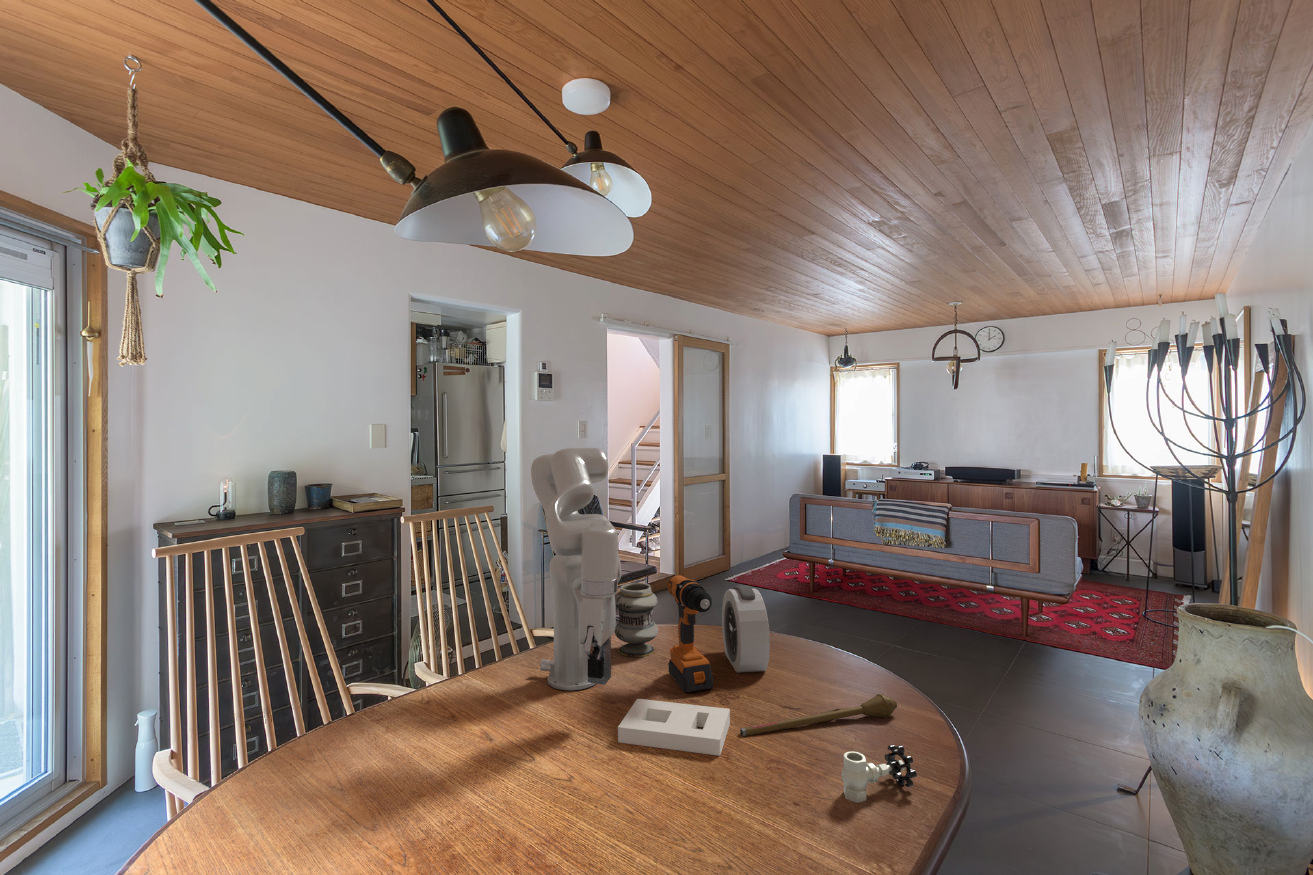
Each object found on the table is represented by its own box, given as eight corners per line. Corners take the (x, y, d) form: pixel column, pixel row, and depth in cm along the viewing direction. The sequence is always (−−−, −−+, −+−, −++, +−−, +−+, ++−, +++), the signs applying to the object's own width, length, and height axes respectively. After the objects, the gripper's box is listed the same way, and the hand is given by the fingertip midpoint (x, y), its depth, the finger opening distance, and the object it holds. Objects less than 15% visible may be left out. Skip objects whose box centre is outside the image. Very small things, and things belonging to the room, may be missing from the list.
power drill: (725, 702, 134) (725, 590, 134) (694, 707, 132) (693, 593, 132) (692, 667, 155) (692, 570, 155) (665, 670, 153) (664, 572, 153)
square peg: (587, 682, 124) (587, 644, 124) (594, 674, 128) (594, 637, 128) (604, 684, 124) (604, 646, 123) (611, 676, 127) (611, 639, 127)
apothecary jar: (610, 657, 162) (609, 590, 162) (620, 642, 174) (619, 580, 174) (654, 660, 160) (653, 592, 160) (661, 644, 172) (660, 581, 172)
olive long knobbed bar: (747, 749, 117) (738, 740, 122) (903, 719, 126) (889, 711, 130) (745, 724, 118) (736, 716, 122) (900, 695, 126) (886, 688, 131)
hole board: (618, 742, 117) (618, 726, 117) (637, 712, 130) (637, 698, 130) (720, 755, 112) (719, 739, 112) (729, 723, 125) (729, 708, 125)
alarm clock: (721, 648, 168) (721, 577, 168) (748, 647, 169) (747, 576, 169) (740, 678, 147) (740, 598, 147) (770, 677, 148) (770, 596, 148)
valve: (857, 811, 95) (917, 794, 100) (857, 769, 95) (916, 754, 100) (831, 788, 102) (888, 773, 106) (831, 749, 102) (888, 736, 106)
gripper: (596, 574, 134) (596, 655, 135) (566, 596, 118) (566, 687, 119) (628, 576, 132) (628, 659, 133) (602, 599, 116) (602, 692, 117)
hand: (599, 671), depth 126 cm, fingers closed on square peg, 3 cm apart
